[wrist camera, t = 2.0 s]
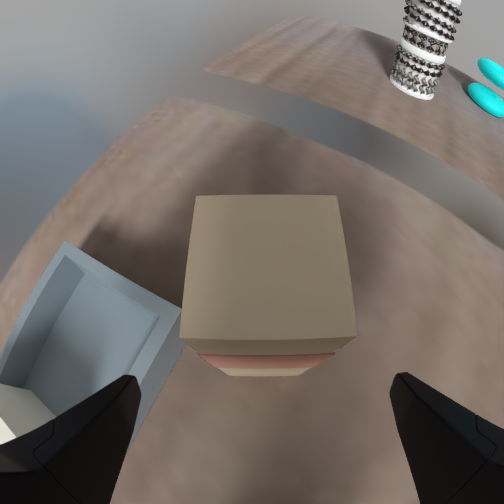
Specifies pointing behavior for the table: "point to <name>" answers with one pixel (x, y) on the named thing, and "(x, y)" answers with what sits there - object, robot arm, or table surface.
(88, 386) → the tote
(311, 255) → the oat carton
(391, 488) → the table surface
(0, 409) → the cream rectangular block
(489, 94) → the donuts
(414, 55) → the decorative candle
